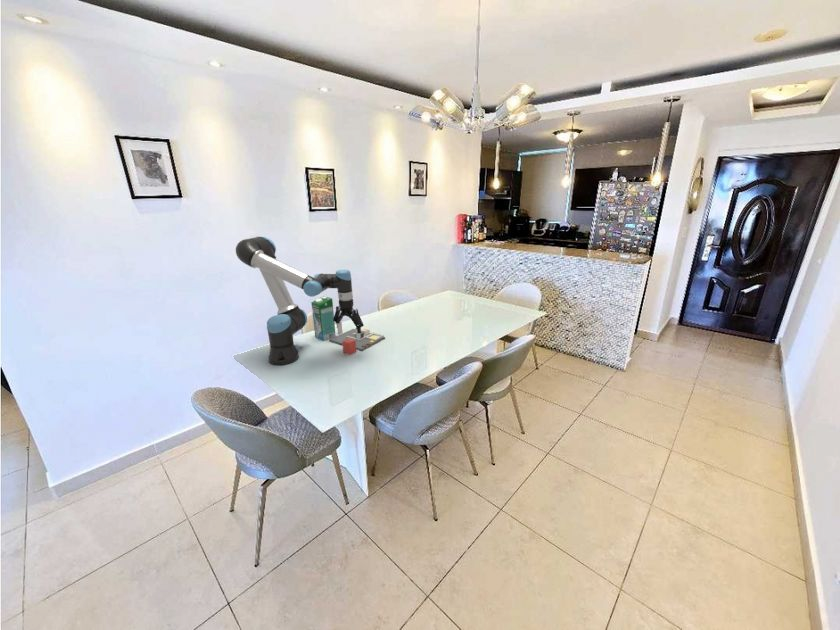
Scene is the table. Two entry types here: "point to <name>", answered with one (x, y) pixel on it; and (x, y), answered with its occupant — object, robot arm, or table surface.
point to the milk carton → (323, 318)
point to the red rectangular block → (349, 346)
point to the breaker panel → (361, 342)
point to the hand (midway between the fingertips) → (349, 336)
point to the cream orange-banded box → (366, 332)
